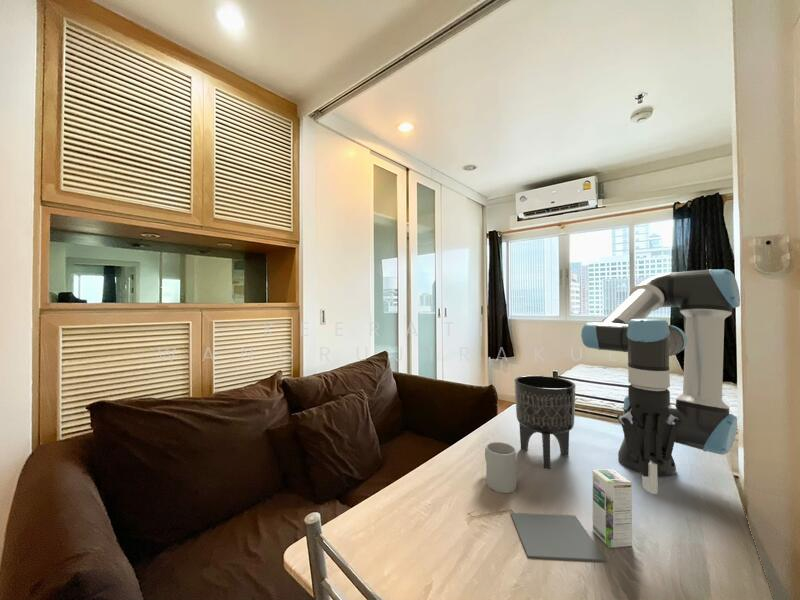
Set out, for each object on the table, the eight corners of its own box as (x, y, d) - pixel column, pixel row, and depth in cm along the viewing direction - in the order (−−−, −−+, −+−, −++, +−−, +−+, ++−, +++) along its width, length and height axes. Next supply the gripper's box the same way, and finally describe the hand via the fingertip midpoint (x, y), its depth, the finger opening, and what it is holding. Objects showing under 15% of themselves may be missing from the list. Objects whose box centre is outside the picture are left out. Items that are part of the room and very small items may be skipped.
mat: (575, 517, 81) (575, 515, 81) (606, 561, 67) (606, 559, 67) (510, 514, 82) (510, 512, 82) (527, 557, 68) (527, 555, 68)
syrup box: (591, 530, 76) (590, 469, 76) (614, 528, 77) (613, 468, 77) (609, 548, 71) (608, 482, 71) (634, 546, 71) (633, 481, 71)
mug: (522, 490, 93) (522, 452, 93) (497, 495, 90) (496, 456, 90) (497, 469, 104) (497, 435, 104) (474, 474, 102) (474, 439, 102)
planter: (581, 475, 100) (580, 391, 100) (515, 465, 107) (514, 386, 107) (571, 448, 119) (570, 377, 119) (515, 441, 125) (514, 373, 126)
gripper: (666, 382, 77) (667, 481, 76) (609, 382, 78) (610, 479, 77) (692, 391, 69) (694, 501, 69) (628, 390, 70) (630, 498, 70)
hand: (649, 489), depth 73 cm, fingers closed
